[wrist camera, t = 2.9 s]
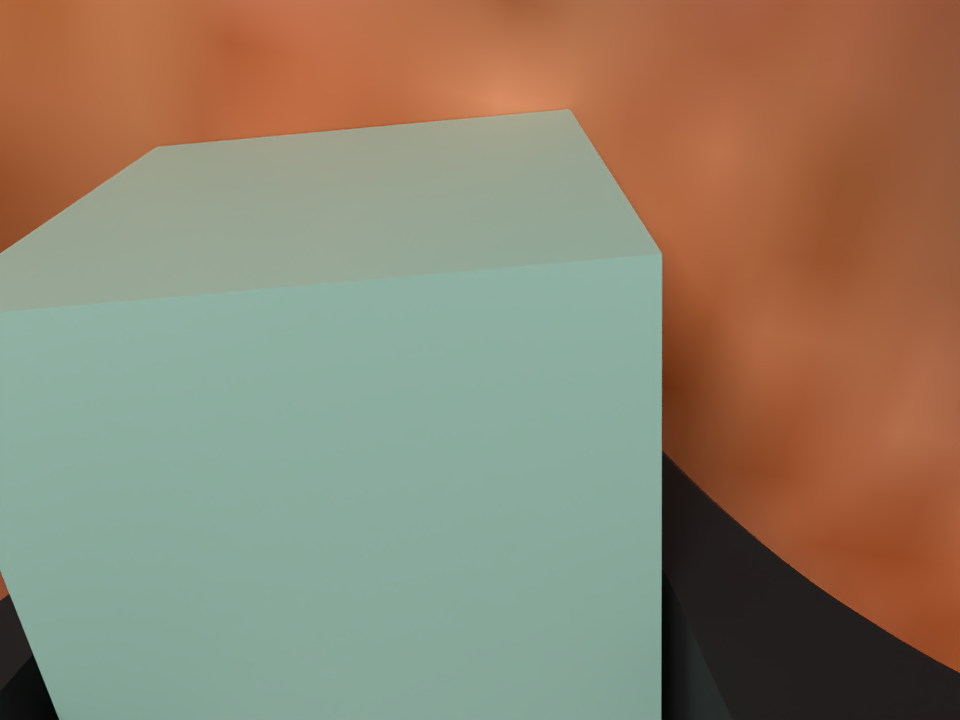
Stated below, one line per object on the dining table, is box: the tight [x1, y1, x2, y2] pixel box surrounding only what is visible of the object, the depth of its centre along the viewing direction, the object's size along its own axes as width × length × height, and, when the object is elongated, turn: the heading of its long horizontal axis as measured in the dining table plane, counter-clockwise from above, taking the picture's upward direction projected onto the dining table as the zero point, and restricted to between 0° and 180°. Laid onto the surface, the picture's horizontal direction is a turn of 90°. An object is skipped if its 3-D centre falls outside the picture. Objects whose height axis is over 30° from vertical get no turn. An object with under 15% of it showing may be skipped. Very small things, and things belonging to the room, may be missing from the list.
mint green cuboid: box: [0, 109, 662, 720], centre depth 10 cm, size 5×9×5 cm, turn 5°
